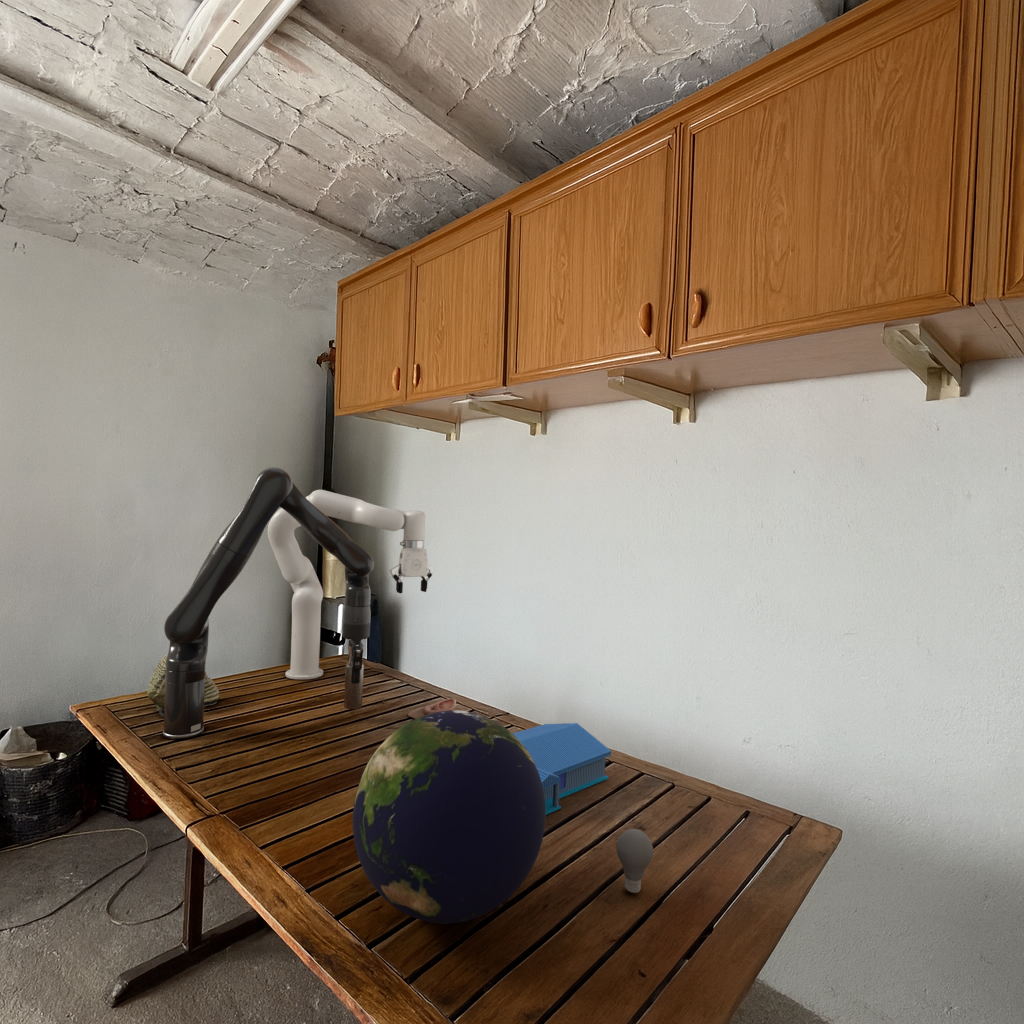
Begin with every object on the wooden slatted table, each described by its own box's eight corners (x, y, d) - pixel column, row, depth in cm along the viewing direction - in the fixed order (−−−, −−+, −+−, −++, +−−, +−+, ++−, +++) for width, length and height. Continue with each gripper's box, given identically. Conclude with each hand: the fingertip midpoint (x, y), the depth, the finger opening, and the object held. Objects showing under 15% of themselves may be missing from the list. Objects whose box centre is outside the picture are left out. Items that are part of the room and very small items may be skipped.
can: (347, 710, 176) (349, 667, 176) (341, 705, 180) (343, 662, 180) (364, 707, 179) (366, 665, 179) (358, 702, 183) (360, 661, 183)
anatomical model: (404, 704, 182) (418, 693, 193) (403, 718, 182) (417, 706, 193) (448, 710, 180) (460, 697, 191) (448, 723, 180) (459, 711, 191)
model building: (490, 838, 120) (492, 786, 120) (417, 791, 138) (419, 745, 138) (619, 783, 146) (621, 740, 146) (544, 749, 164) (545, 711, 164)
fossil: (144, 707, 182) (145, 655, 182) (212, 696, 194) (213, 647, 194) (151, 716, 175) (153, 662, 175) (221, 703, 188) (223, 653, 188)
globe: (306, 934, 92) (314, 729, 91) (413, 836, 119) (420, 678, 119) (495, 1005, 80) (505, 771, 80) (565, 878, 108) (573, 704, 108)
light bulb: (610, 879, 108) (613, 822, 108) (644, 879, 109) (647, 822, 109) (619, 902, 102) (622, 840, 102) (655, 901, 103) (658, 840, 103)
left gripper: (373, 625, 174) (371, 687, 174) (366, 615, 187) (364, 673, 188) (345, 626, 171) (342, 688, 172) (340, 616, 185) (338, 674, 185)
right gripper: (396, 546, 220) (394, 595, 221) (439, 545, 231) (437, 592, 231) (387, 544, 226) (385, 591, 227) (429, 543, 237) (427, 589, 237)
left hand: (354, 680), depth 180 cm, fingers closed on can, 5 cm apart
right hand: (411, 592), depth 229 cm, fingers open, 9 cm apart
